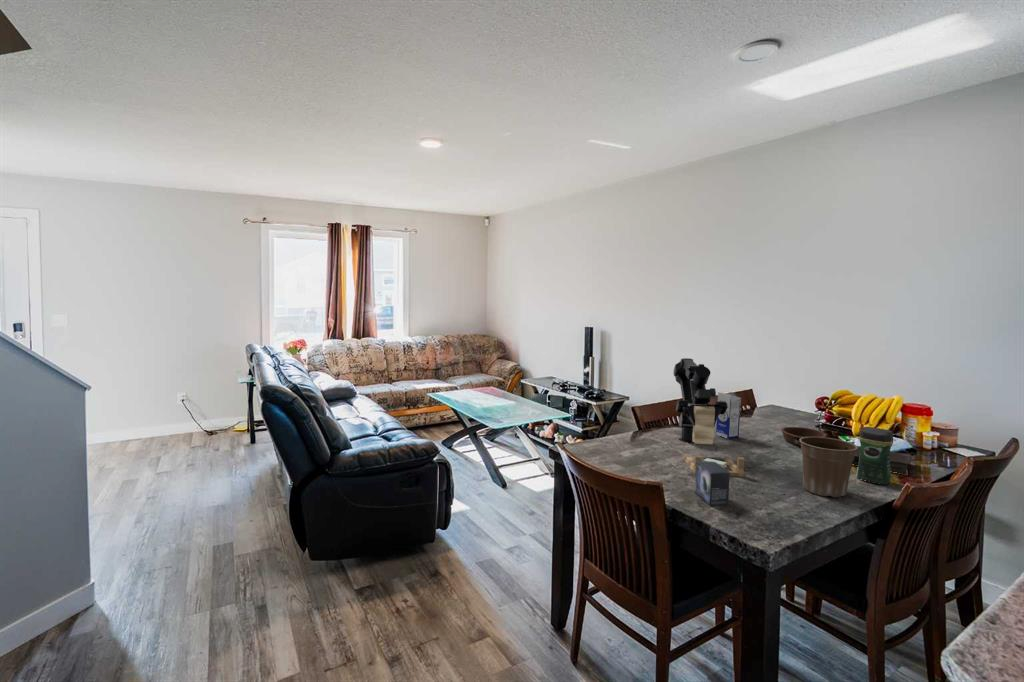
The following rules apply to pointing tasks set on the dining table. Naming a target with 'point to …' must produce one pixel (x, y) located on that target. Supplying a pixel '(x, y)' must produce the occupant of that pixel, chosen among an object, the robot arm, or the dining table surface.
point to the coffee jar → (875, 455)
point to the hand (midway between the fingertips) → (704, 425)
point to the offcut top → (722, 464)
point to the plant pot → (826, 465)
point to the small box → (712, 483)
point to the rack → (737, 469)
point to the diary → (891, 460)
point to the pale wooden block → (703, 425)
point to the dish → (799, 434)
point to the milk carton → (729, 416)
